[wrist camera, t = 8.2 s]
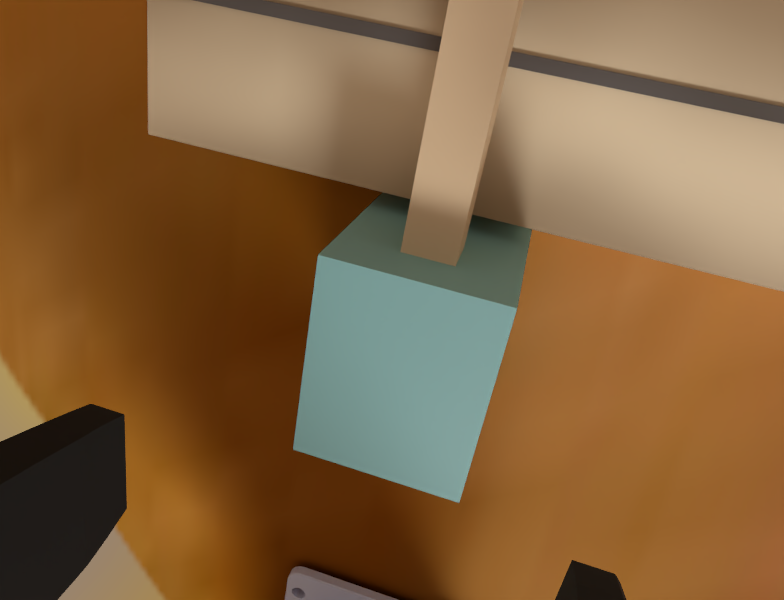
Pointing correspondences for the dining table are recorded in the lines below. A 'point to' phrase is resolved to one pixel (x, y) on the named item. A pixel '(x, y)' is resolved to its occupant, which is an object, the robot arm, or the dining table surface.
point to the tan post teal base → (421, 288)
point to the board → (509, 112)
